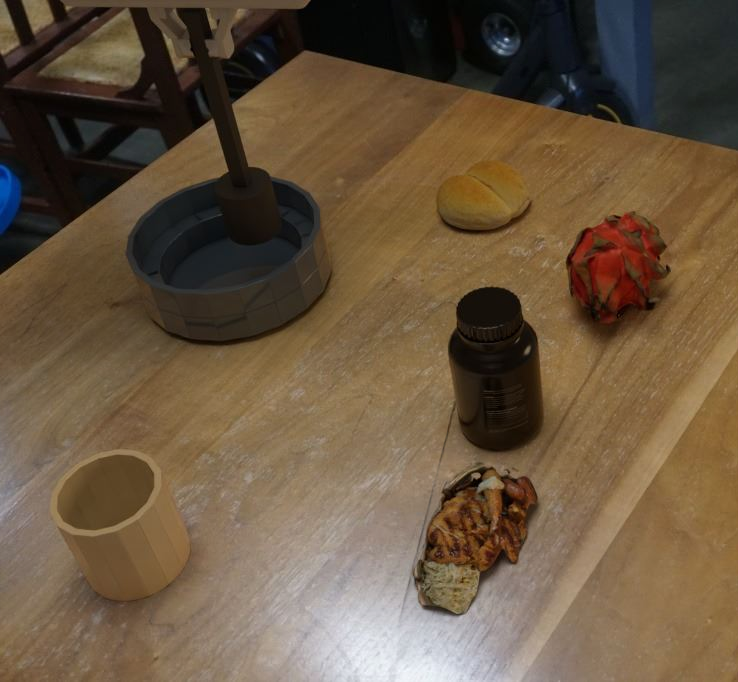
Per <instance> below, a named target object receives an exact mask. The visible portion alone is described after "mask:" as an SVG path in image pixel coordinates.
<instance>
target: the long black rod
mask: <svg viewBox="0 0 738 682" xmlns="http://www.w3.org/2000/svg"><path fill="white" fill-rule="evenodd" d="M206 9H207V8H183V11H182V16H183V19H184V24H185V26H186V27H187V30H188V33H189V37H190V40H191V43H192V47H193V50H194V54H195V57H196V58H195V60H196V64H197V67H198V71H199V74H200V78H201V81H202V84H203V88H204V92H205V96H206V99H207V102H208V105H209V110H210V112H211V116H212V120H213V122H214V126H215V130H216V132H217V136H218V141H219V143H220V147H221V149H222V153H223V157H224V160H225V164H226V168H227V172H225V173H224V174H223V173H222V175H221V176H219V177H218V178H219V179H218V180H217V181H216V183H215V188H214V189H215V193H216V196H217V199H218V202H219V206H220V209H221V212H222V216H223V219H224V222H225V225H226V229H227V232H228V235H229V238H230V239H231V240H232V241H233V242H235V243H237V244H240V245H246V246H252V245H259V244H262V243H265V242H268V241H270V240H271V239H273V238H274V237H276V236H277V235H278V234H279V233H280V231H281V229H282V220H281V216H280V212H279V208H278V204H277V201H276V197H275V193H274V189H273V185H272V181H271V177H270V176H271V175H270V173H269V172H268V171H267V170H265V169H263V168H261V167H258V166H257V167H256V166H249V164H248V159H247V155H246V152H245V148H244V144H243V141H242V137H241V134H240V131H239V126H238V122H237V119H236V116H235V112H234V108H233V104H232V101H231V97H230V93H229V90H228V86H227V82H226V79H225V75H224V72H223V69H222V64H221V61H220V58H210V57H209V54H208V52H209V49H208V48H207V47H206V43H205V38H206V37H207V36H208V35H209V34H210V31H211V30H212V27H211V24H210V20H209V17H208V12H207V10H206Z"/></svg>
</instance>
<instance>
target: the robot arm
mask: <svg viewBox="0 0 738 682" xmlns="http://www.w3.org/2000/svg"><path fill="white" fill-rule="evenodd" d="M59 1H60V2H61V3H62V4H64V5H65V6H67V7H70V8H73V7H74V8H146V10H147V13H148V16H149V19H150V20H151V22H152V23H153V24H154V25H155V26H156V27H157V28H158V29H159V30H160V31H161V33H163V34H164V35H165V36H166V37H167V38H168V39H169V40H170V41H171V43H172V47H173V50H174V53H175V56H176V58H179V59H196V57H195V54H194V50H193V47H192V43H191V40H190V37H189V33H188V30H187V26H186V23H185V22H183V20H182V19H181V18H180V17H179V15H177V13H176V12H175V11H174V10H175V9H182V8H183V9H185V8H205V9H209V13H210V16H211V19H212V20H214V21H219V22H218V25H217V28H211V31H210V34H209V35H208V36H207V37H206V38H205V43H206V47H207V48H208V49H209V52H208V54H209V57H210V58H219V59H230V58H231V57H232V55H233V54H234V52H235V42H234V39H233V35H232V32H231V30H232V28H233V25H234V22H235V20H236V16H237V13H238V10H239V9H255V10H256V9H257V10H258V9H262V10H263V9H264V10H265V9H266V10H267V9H268V10H271V9H272V10H285V9H286V10H300V9H304V8H306V7H307V5H308V4H309V3H310V2H311V0H59Z"/></svg>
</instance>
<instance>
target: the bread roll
mask: <svg viewBox="0 0 738 682" xmlns="http://www.w3.org/2000/svg"><path fill="white" fill-rule="evenodd" d="M531 200H532V197H531V193H530V190H529V186H528V185H527V183H526V181H525V179H524V177H523V175H521V173H520V172H519V171H518V170H516V169H515V168H514V167H513V166H511V165H510V164H508V163H506V162H504V161H500V160H482V161H479V162H476V163H475V164H474V163H473V165H472V166H470V167H469V168H468V169H467V170H466V171H465V173H464V174H457V175H453V176H450V177H448V178H446V179H444V181H443V182H442V183H441V184H440V185H439V187H438V190H437V192H436V201H435V202H436V206H437V210H438V213H439V215H440V216H441V218H442V219H443V221H445V222H446V223H447V224H448V225H451V226H453V227H456V228H458V229H461V230H472V231H490V230H493V229H494V230H495V229H498V228H500V227H502V226H505V225H506V224H508V223H509V222H510V221H511V220H512V219H513V218H517V217H519V216H520V215H521V214H523V213H524V211H525V210H527V208H528V206H529V204H530V203H531Z"/></svg>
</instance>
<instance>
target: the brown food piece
mask: <svg viewBox="0 0 738 682" xmlns="http://www.w3.org/2000/svg"><path fill="white" fill-rule="evenodd" d="M476 460H477V461H476ZM476 460H472V461H470V462H469V465H468V466H467V467H466V468H465V469H462V470H458V471H456V472H455V474H454V476H453V479H452V480H451V481H447V482H445V484H444V486H443V487H442V490H441V493H440V497H439V502H438V505H437V507H436V509H435V511H434V513H433V514H432V516H431V517H430V520H429V522H428V523H427V524H428V525H427V527H426V531H425V538H424V544H423V545H422V550H421V551H422V552H421V555H420V558H419V559H418V561H416V564H415V566H414V568H413V571H412V576H413V581H414V585H415V588H416V589H417V598H418V600H419V602H420V603H421V605H422V606H434V607H440V608H443V609H446V610H448V611H450V612H452V613H454V614H456V615H459V614H466V613H467V612H468V610H469V607H470V605H471V603H472V601H473V599H474V598H475V597H476V595H477V591H478V587H479V583H480V582H479V580H480V575H481V572H482V571H486V570H488V569H489V568H491V567H492V566H493V564H495V561H496V559H497V558H498V556H499V554H500V553H501V551H502V550H504V553H505V556H507V557H508V559H509V560H510V561H511V563H514V564H516V563H517V562H518V560H519V549H520V546H522V545H523V543H524V542H525V538H526V537H527V534H528V526H527V523H526V521H525V520H526V517H527V513H528V510H529V505H531V504H532V505H533V504H534V505H536V504H537V502H538V498H539V495H538V492H537V489H536V487H535V485H534V483H533V482H532V480H531V479H530V478H529V477H528V476H525V475H522V476H518V477H514V476H512V475H511V470H512V471H515V472H517V473H518V472H519V469H517V468H515V467H513V466H512V467H511V470H510V469H509V468H504V469H503V471H506V472H507V473H505V474H499V473H498V472H497V469H496V468H495V467H494V466H493V465H490V466H486V463H484V462H481V461H479V460H480V458H479V457H477V458H476ZM473 474H479V475H480V476H479V477H477V478H476V477H473V478H472V480H470V481H469V479H470V478H471V477H472V475H473ZM465 482H466V483H465ZM464 483H465V484H464Z"/></svg>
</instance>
